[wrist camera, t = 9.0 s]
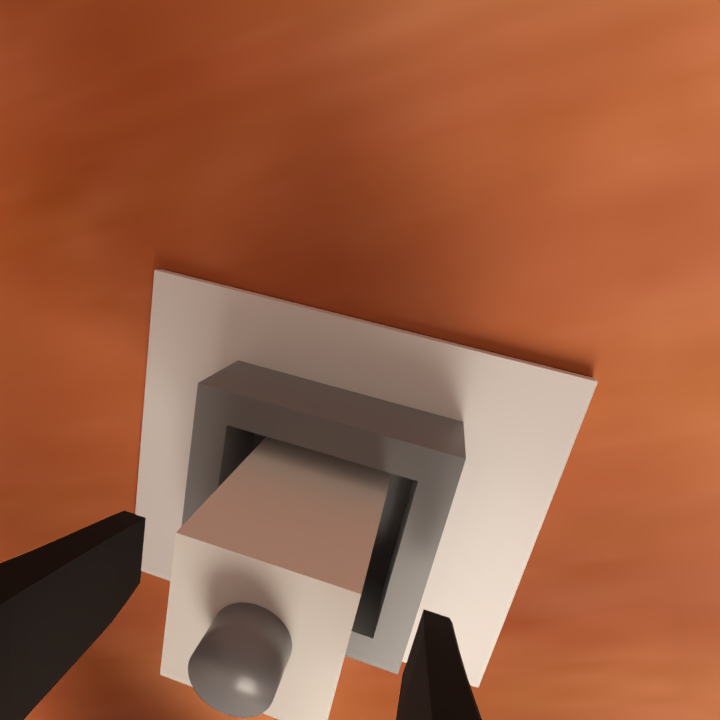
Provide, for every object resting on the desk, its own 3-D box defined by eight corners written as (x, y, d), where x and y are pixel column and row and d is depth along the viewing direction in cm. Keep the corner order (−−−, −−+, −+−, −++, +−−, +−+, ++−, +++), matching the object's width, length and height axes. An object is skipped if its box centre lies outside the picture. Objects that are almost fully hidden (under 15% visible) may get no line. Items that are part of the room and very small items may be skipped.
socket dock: (477, 677, 17) (483, 764, 14) (137, 560, 18) (82, 616, 16) (593, 377, 13) (630, 413, 11) (161, 269, 15) (97, 275, 12)
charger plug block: (369, 556, 16) (309, 788, 9) (261, 522, 16) (131, 717, 10) (396, 456, 15) (350, 636, 8) (280, 422, 15) (144, 565, 8)
